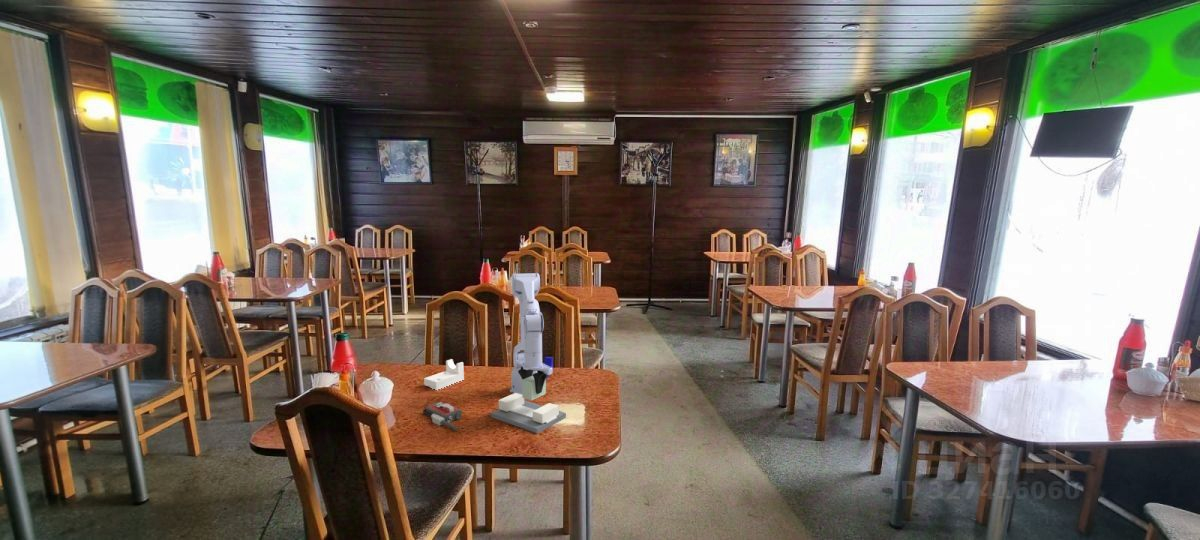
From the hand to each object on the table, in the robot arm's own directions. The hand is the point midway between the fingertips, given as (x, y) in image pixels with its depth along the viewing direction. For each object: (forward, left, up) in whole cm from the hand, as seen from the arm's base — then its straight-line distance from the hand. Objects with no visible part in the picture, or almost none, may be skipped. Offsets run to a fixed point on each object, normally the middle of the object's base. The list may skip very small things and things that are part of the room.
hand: (533, 391), depth 163 cm
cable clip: (-23, +31, -9) cm, 39 cm away
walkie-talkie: (-21, -18, -9) cm, 29 cm away
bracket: (-48, +2, -9) cm, 49 cm away
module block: (0, 0, -2) cm, 2 cm away
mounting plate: (-1, -2, -8) cm, 9 cm away
